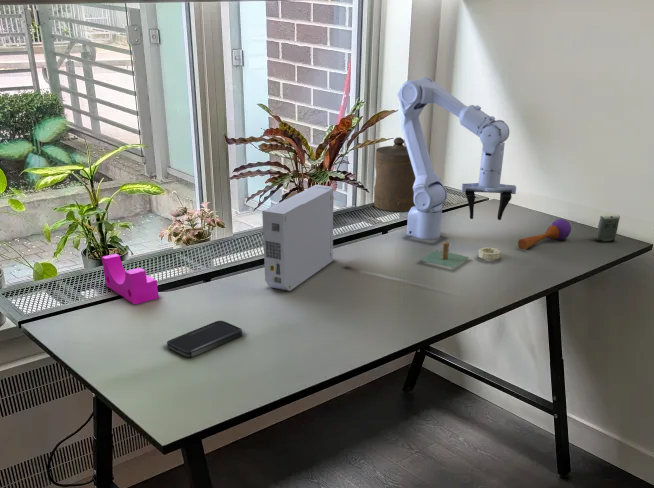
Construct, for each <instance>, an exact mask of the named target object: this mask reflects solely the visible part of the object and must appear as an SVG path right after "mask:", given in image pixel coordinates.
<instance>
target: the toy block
mask: <svg viewBox="0 0 654 488" xmlns="http://www.w3.org/2000/svg"><path fill="white" fill-rule="evenodd" d="M101 262H102V267H103V268H102V269H103V275H104V281H105V286H106V287H107V288H109V289H110V290H112V291H113V292H115V293H116V294H117V295H119V296H121V297H123V298H124V299H125V300H127V301H128V302H130V303H131V304H132V305H138V304H139V305H140V304H142V303H146V302H150V301H153V300H157V299H159V298H160V296H159V286H158V280H157V279H155V278H153V277H152V276H150V275H147V272H146V270H145V269H144V268H142V267H136V268H132V269H127V270H126V269H125V267H124V266H123V263H122V259H121V256H120V255H119V254H118V253H112V254H109V255H103V256H101Z"/></svg>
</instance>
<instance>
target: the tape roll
mask: <svg viewBox="0 0 654 488" xmlns="http://www.w3.org/2000/svg"><path fill="white" fill-rule="evenodd" d="M477 255H478V257H479V258H481V259H483V260H493V261H494V260H498V259H500V257H501V251H500V249H498V248H495V247H491V246H489V247H488V246H487V247H486V246H485V247H481V248H479V249H478V254H477Z"/></svg>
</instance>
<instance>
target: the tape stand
mask: <svg viewBox="0 0 654 488" xmlns="http://www.w3.org/2000/svg"><path fill="white" fill-rule="evenodd" d="M449 251H450V242H449V241H443V242H442V246H441V250H439V249H436V250H434V251H433V252H431V253H429V254H428V255H426V256H425V257H422V258H421V259H420V261H422V262H426V263H430V264H434V265H439V266H443V267H448V268H453V269H454V268H455V267H457V266H458V265H460V264H461V263H463V262H465V261H466V260H468V259H469V258H470V257H469V256H467V255H461V254H456V253H452V252H449Z"/></svg>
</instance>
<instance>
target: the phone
mask: <svg viewBox="0 0 654 488" xmlns="http://www.w3.org/2000/svg"><path fill="white" fill-rule="evenodd" d="M242 336H243V329H242V328H241V327H238V326H236V325H234V324H231V323H229V322H227V321H225V320H216V321H214V322H213V321H212V322H211V323H208V324H206V325H204V326H201V327H199V328H196V329H194V330H191V331H187V332H186V333H184V334H181V335H179V336H176V337H173V338H171V339H168V340H167V341H166V345H167V348H168V349H169V350H171V351H173V352H176V353H177V354H179V355H181V356H183V357H185V358H193V357H195V356H198V355H200V354H202V353H205V352H207V351H210V350H212V349H214V348H217V347H219V346H221V345H223V344H226V343H228V342H230V341H233V340H235V339H237V338H240V337H242Z"/></svg>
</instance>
